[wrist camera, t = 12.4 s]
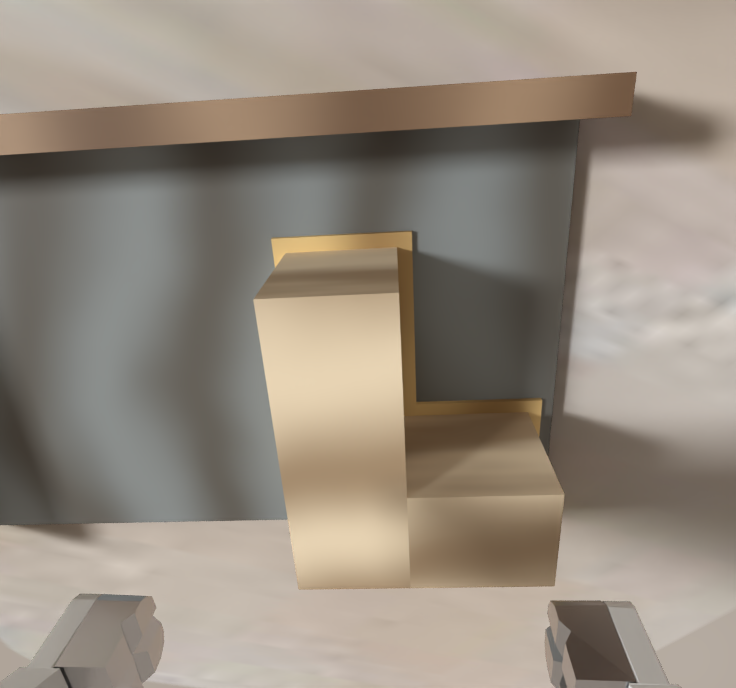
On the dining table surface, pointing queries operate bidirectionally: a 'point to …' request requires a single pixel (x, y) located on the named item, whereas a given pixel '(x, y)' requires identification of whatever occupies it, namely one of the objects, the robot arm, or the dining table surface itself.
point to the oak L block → (391, 446)
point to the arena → (265, 276)
